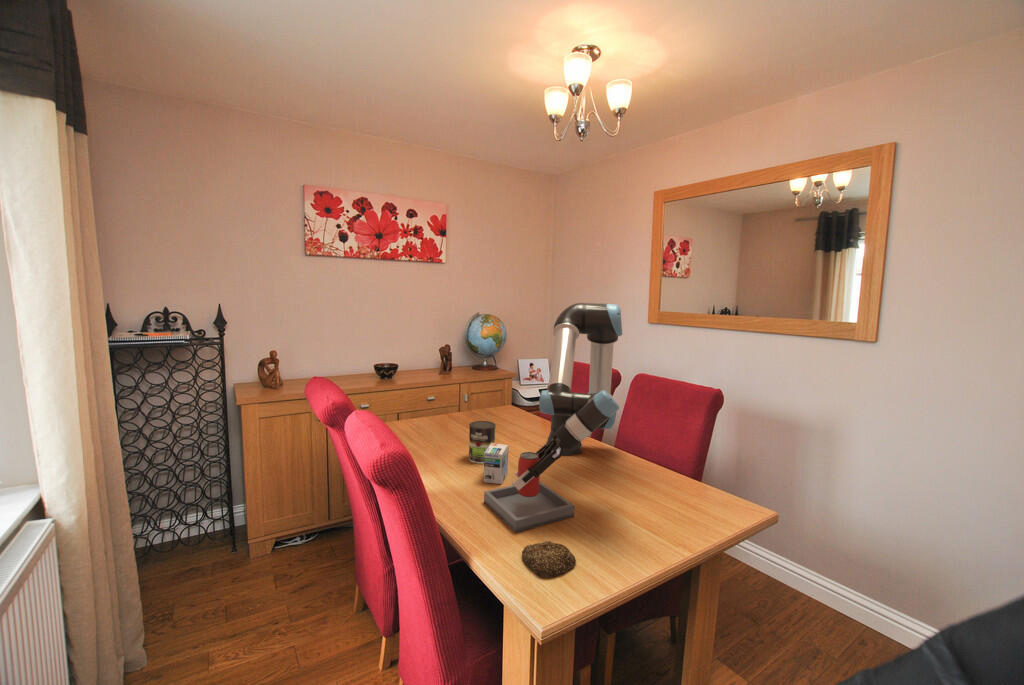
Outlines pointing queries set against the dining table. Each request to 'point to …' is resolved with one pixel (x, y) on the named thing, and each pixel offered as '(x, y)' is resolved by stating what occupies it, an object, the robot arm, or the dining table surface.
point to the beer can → (524, 462)
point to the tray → (528, 507)
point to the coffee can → (480, 439)
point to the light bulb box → (495, 463)
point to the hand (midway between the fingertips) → (516, 481)
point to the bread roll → (548, 559)
